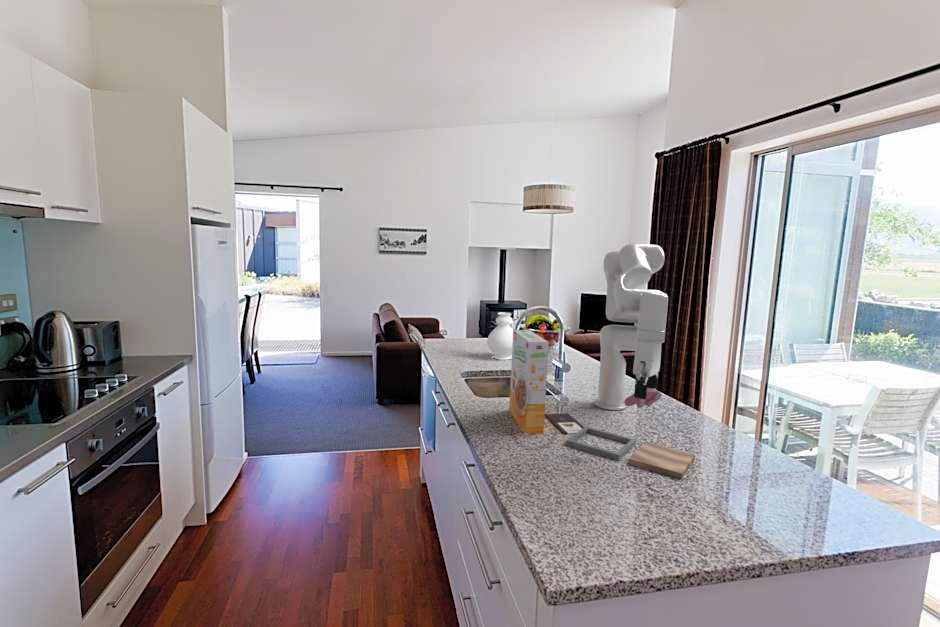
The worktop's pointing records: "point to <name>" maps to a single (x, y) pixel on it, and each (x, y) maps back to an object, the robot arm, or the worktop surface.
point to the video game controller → (651, 397)
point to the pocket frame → (596, 450)
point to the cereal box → (528, 380)
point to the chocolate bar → (565, 423)
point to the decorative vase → (501, 337)
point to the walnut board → (662, 459)
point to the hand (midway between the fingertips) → (645, 394)
